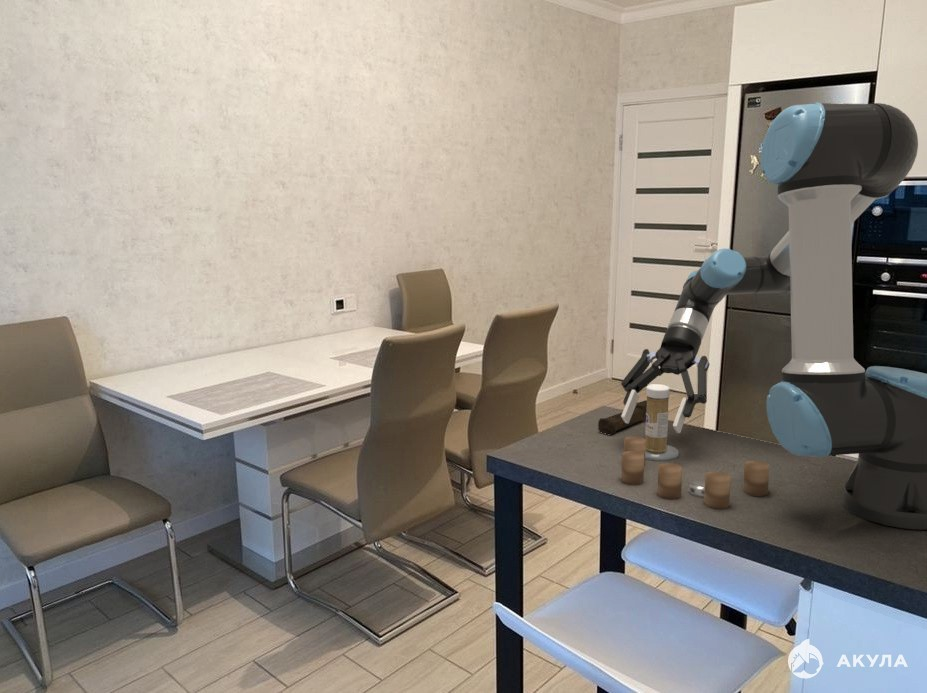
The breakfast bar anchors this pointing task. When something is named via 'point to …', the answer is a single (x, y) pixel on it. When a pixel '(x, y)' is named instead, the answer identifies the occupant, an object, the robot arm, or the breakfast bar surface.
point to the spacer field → (672, 476)
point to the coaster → (662, 454)
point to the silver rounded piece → (697, 488)
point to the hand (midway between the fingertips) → (649, 424)
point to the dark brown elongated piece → (617, 422)
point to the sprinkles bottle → (657, 418)
